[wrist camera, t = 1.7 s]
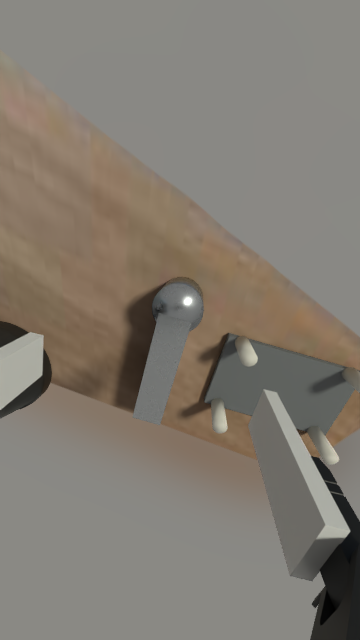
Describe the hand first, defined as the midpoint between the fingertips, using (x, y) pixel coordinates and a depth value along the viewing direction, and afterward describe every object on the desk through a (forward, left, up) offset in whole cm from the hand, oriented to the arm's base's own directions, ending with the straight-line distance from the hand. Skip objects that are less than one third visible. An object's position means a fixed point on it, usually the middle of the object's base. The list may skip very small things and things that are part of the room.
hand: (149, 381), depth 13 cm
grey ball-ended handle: (0, -6, -20) cm, 21 cm away
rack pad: (+18, -8, -20) cm, 28 cm away
